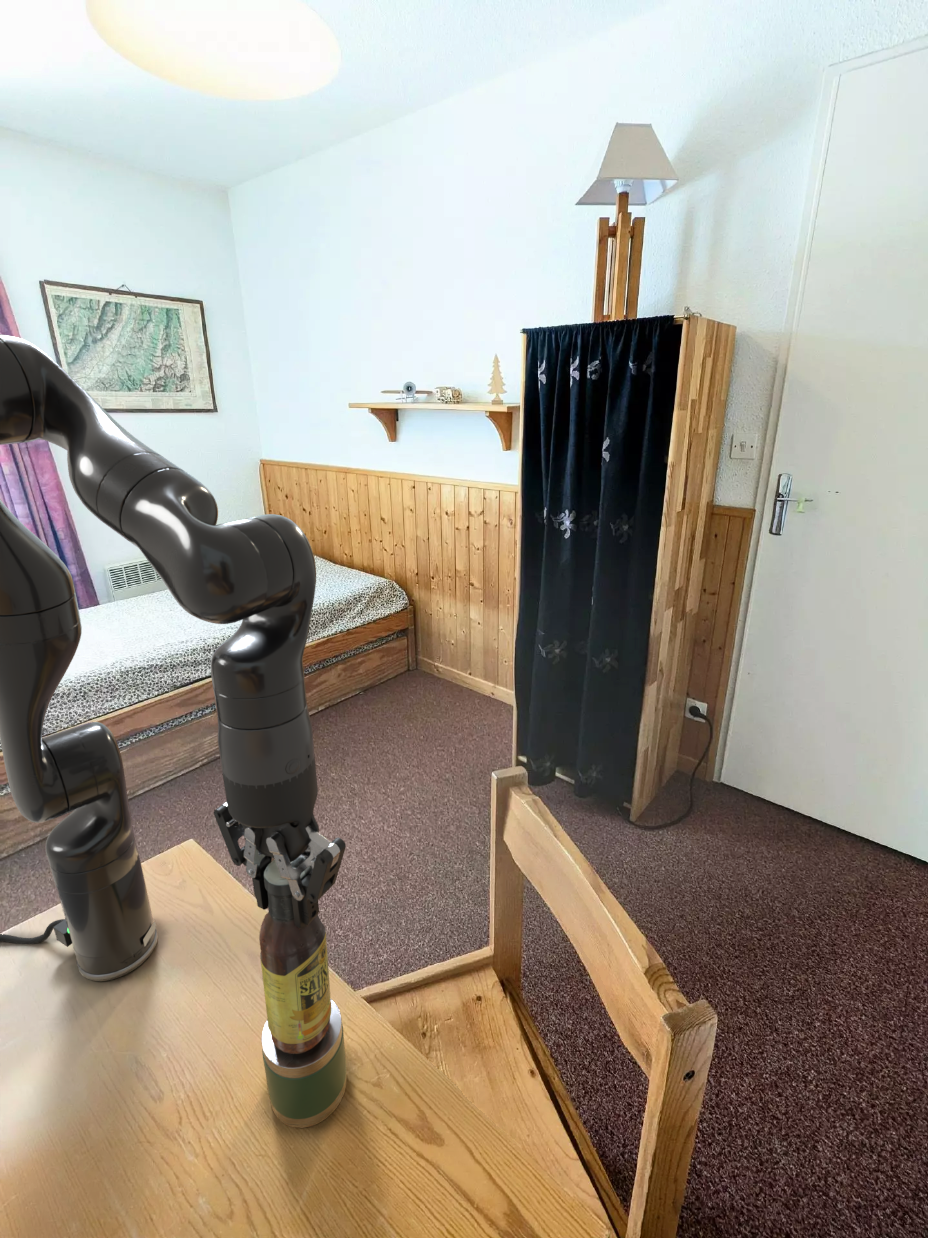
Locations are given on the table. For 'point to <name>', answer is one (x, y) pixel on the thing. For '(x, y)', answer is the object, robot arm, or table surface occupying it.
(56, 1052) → the table surface
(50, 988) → the table surface
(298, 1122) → the tin can
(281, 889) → the sauce bottle
